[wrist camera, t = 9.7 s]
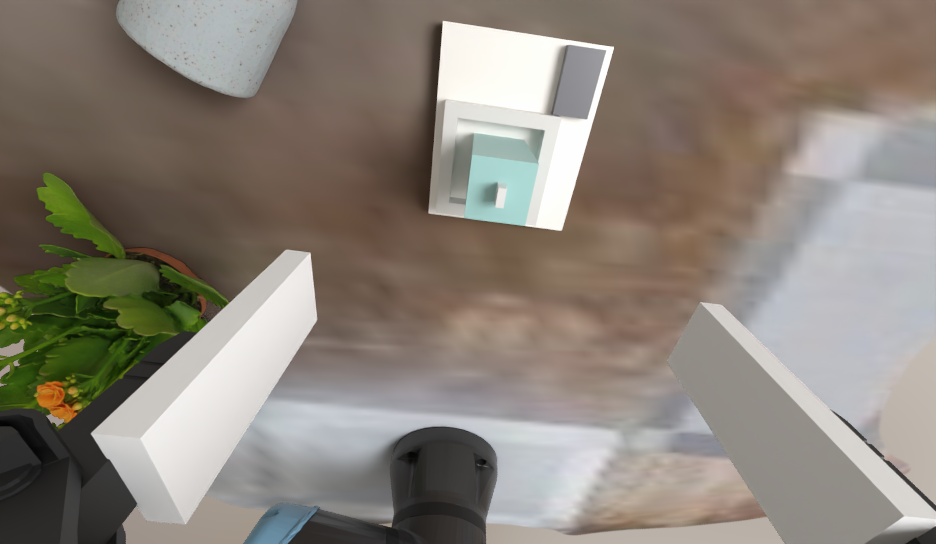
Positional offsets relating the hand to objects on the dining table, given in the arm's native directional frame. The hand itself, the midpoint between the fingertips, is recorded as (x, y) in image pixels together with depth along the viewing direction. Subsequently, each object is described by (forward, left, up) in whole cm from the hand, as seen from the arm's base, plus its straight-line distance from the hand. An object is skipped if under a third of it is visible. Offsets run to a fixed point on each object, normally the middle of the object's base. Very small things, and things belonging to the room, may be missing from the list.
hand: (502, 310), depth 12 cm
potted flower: (-17, +32, -21) cm, 41 cm away
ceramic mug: (+9, +20, -21) cm, 30 cm away
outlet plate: (+3, -1, -21) cm, 21 cm away
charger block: (+1, 0, -20) cm, 20 cm away
